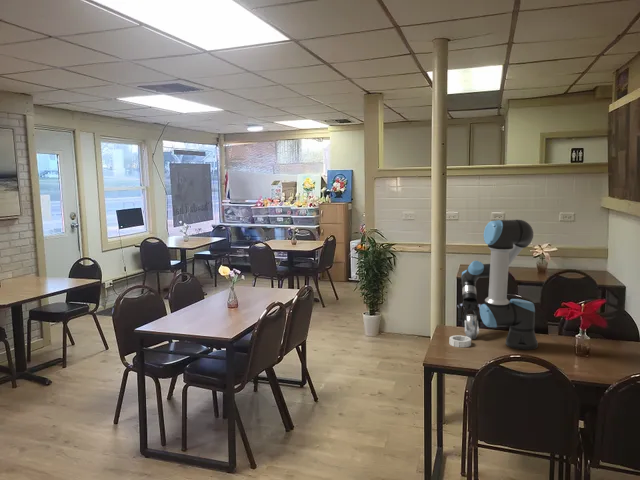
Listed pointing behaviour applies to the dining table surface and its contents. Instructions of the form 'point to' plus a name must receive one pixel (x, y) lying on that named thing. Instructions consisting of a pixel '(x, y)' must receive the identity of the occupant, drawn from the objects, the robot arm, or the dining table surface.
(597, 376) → the dining table surface
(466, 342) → the socket
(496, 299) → the robot arm
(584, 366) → the dining table surface
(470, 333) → the metal cylinder
